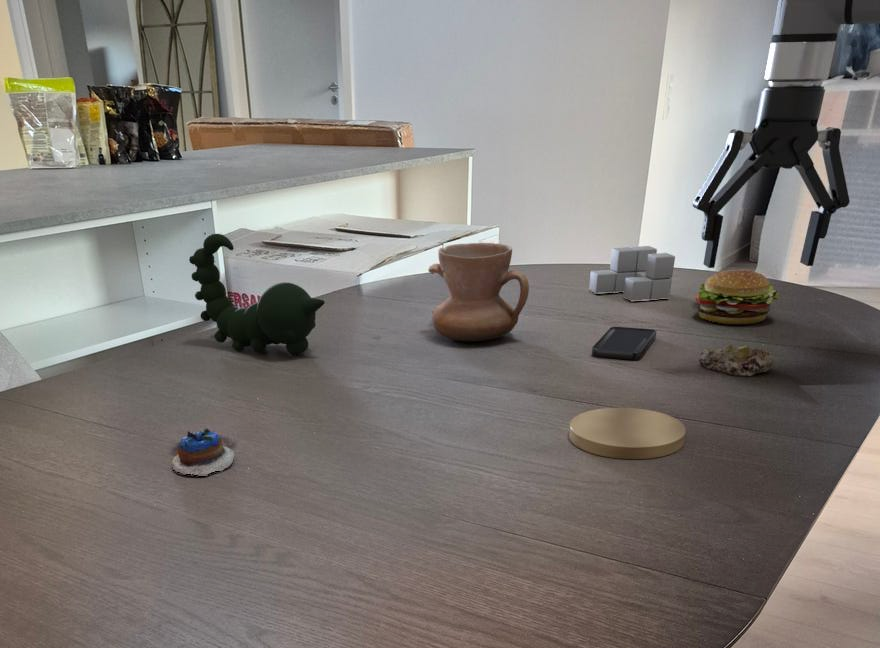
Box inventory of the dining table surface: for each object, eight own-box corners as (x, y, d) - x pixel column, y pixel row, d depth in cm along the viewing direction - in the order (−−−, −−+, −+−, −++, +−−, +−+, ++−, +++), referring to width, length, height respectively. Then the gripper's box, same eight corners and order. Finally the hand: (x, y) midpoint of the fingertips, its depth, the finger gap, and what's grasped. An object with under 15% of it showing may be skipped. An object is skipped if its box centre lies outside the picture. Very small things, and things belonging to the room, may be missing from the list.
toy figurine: (197, 359, 146) (315, 363, 134) (170, 239, 136) (295, 232, 125) (232, 345, 153) (347, 348, 141) (208, 230, 143) (330, 223, 131)
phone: (590, 348, 134) (611, 325, 146) (590, 356, 135) (611, 332, 146) (640, 353, 132) (658, 329, 143) (639, 360, 132) (657, 336, 143)
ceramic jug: (410, 342, 145) (408, 252, 137) (448, 322, 156) (449, 238, 148) (507, 354, 138) (511, 260, 130) (540, 332, 148) (546, 244, 140)
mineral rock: (780, 348, 128) (774, 346, 121) (774, 378, 129) (767, 378, 123) (707, 343, 132) (697, 341, 126) (702, 372, 134) (692, 372, 127)
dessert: (193, 442, 106) (208, 408, 102) (234, 475, 107) (251, 444, 103) (154, 470, 101) (168, 435, 97) (197, 505, 101) (213, 473, 97)
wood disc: (668, 417, 111) (670, 406, 110) (697, 458, 100) (699, 446, 99) (561, 419, 112) (562, 408, 111) (578, 460, 100) (579, 448, 99)
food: (766, 331, 145) (776, 281, 140) (684, 322, 151) (691, 275, 147) (783, 313, 154) (793, 266, 150) (705, 306, 161) (712, 261, 156)
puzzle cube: (588, 291, 174) (592, 249, 169) (643, 287, 175) (649, 245, 171) (611, 304, 164) (616, 260, 160) (669, 299, 166) (675, 256, 161)
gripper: (880, 81, 110) (835, 258, 122) (686, 85, 110) (661, 261, 122) (908, 82, 103) (858, 268, 115) (703, 87, 104) (675, 272, 116)
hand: (757, 265), depth 119 cm, fingers open, 13 cm apart
